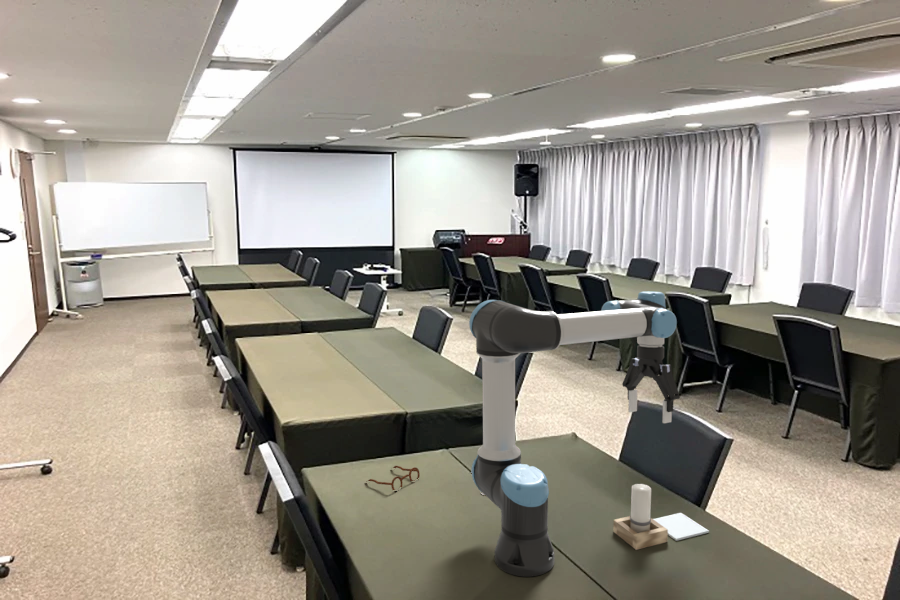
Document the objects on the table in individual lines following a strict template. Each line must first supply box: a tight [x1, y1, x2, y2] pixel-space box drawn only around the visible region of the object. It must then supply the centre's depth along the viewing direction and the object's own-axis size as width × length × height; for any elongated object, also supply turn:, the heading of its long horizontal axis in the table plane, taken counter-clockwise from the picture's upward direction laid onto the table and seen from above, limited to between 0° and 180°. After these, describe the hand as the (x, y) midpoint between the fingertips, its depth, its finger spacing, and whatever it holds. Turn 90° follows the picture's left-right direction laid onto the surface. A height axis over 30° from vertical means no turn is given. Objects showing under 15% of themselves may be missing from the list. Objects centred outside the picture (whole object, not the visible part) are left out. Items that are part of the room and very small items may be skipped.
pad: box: [652, 512, 710, 542], centre depth 179 cm, size 11×11×1 cm
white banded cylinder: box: [629, 483, 652, 533], centre depth 173 cm, size 5×5×14 cm
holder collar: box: [612, 515, 669, 551], centre depth 174 cm, size 10×10×4 cm
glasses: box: [367, 465, 420, 491], centre depth 210 cm, size 13×13×5 cm
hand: (649, 416), depth 188 cm, fingers open, 13 cm apart
